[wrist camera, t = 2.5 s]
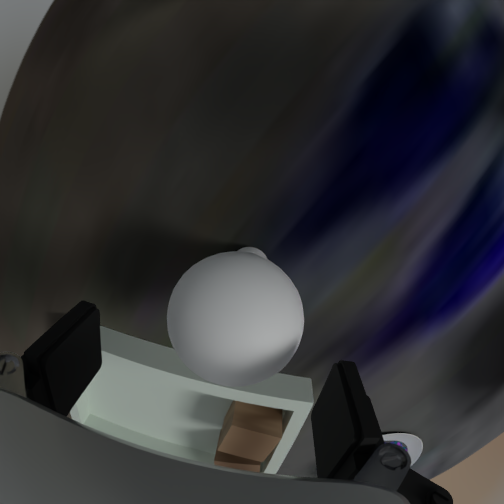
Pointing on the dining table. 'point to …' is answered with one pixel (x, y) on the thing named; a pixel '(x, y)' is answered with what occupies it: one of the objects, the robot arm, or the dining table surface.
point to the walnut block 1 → (250, 430)
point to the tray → (179, 401)
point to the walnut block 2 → (235, 461)
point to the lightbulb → (235, 318)
